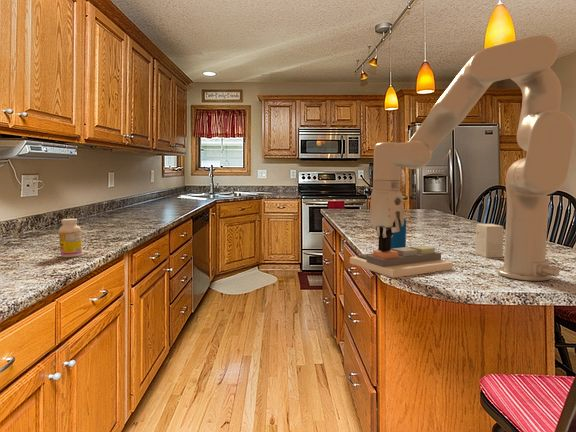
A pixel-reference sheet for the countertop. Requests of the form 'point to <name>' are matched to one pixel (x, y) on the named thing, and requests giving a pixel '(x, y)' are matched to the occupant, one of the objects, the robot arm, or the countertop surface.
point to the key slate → (405, 251)
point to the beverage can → (399, 237)
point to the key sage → (423, 249)
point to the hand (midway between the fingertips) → (384, 250)
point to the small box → (489, 240)
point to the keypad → (402, 264)
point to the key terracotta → (385, 254)
